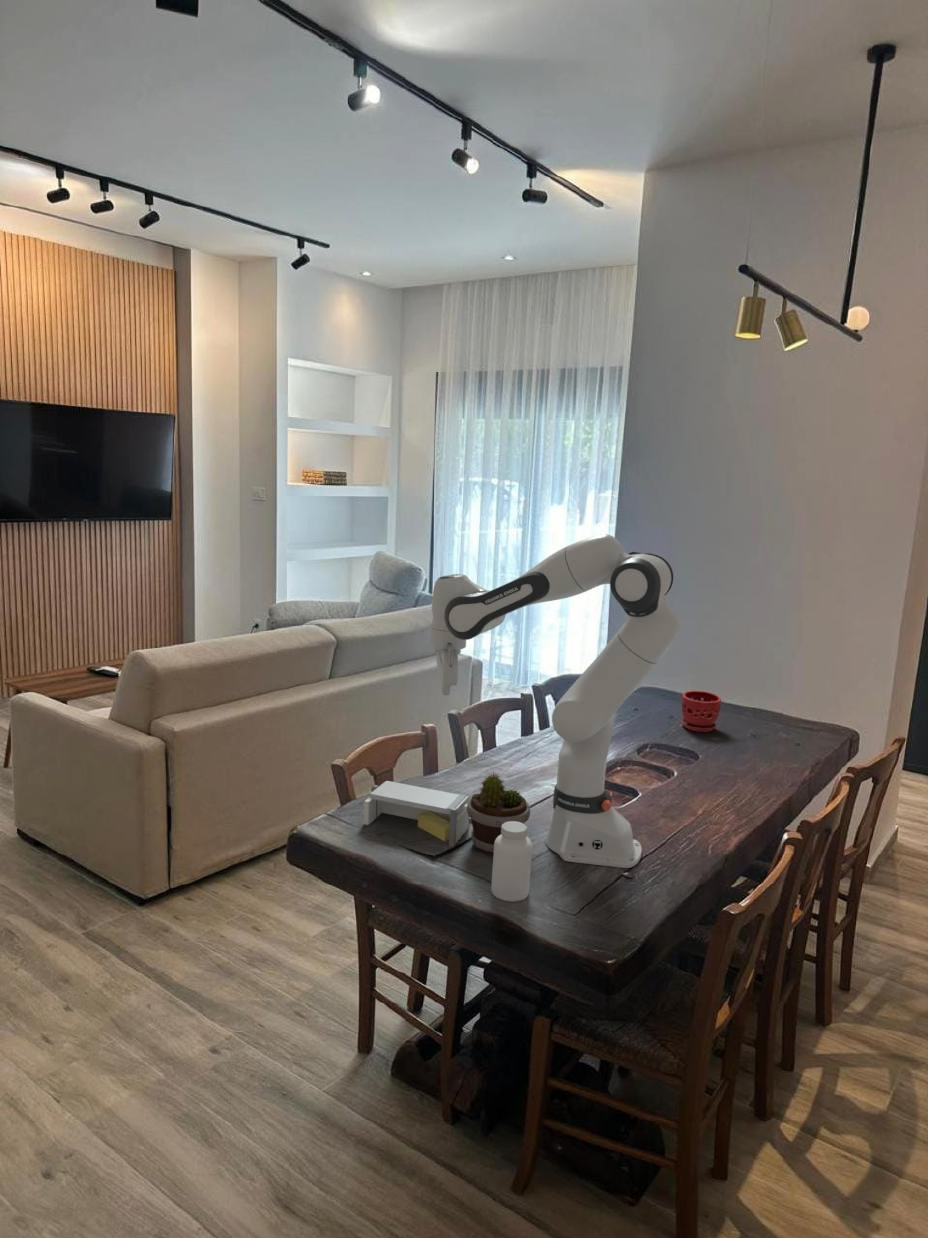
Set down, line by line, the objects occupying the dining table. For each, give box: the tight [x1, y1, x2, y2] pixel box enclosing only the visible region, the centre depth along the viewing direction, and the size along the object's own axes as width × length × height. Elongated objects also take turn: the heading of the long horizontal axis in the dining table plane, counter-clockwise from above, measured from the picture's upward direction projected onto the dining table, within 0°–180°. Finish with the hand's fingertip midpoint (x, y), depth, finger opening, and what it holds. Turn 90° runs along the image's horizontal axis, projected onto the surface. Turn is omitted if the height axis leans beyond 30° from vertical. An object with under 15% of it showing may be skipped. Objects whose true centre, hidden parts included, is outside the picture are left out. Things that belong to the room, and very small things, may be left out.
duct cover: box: [369, 780, 470, 814], centre depth 201 cm, size 24×9×1 cm, turn 70°
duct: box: [363, 796, 471, 847], centre depth 201 cm, size 24×11×9 cm, turn 71°
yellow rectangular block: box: [417, 811, 450, 842], centre depth 200 cm, size 10×3×3 cm, turn 43°
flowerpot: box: [467, 770, 531, 856], centre depth 192 cm, size 14×15×20 cm
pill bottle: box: [490, 821, 533, 903], centre depth 172 cm, size 8×8×15 cm
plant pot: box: [681, 690, 722, 733], centre depth 289 cm, size 13×13×12 cm
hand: (445, 693), depth 206 cm, fingers closed
